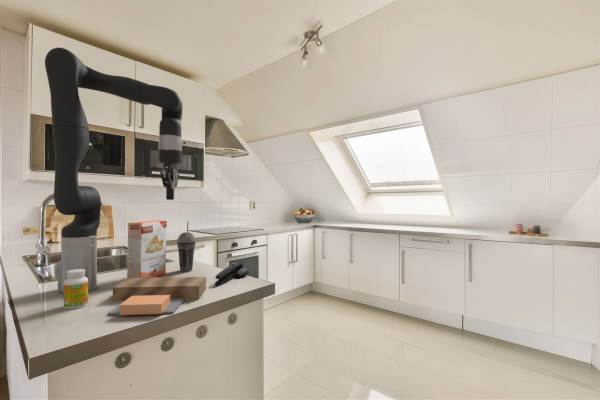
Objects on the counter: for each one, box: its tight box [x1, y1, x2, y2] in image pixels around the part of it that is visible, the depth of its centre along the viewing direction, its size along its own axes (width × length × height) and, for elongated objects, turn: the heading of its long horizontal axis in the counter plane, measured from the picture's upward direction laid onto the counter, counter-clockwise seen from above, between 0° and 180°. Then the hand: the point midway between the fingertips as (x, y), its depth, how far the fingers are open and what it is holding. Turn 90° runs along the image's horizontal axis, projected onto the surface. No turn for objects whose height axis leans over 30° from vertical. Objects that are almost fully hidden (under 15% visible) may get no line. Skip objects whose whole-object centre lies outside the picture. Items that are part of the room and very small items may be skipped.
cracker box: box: [126, 219, 168, 279], centre depth 111 cm, size 14×6×21 cm, turn 168°
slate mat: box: [107, 298, 185, 316], centre depth 82 cm, size 16×10×1 cm, turn 96°
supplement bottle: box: [63, 269, 89, 310], centre depth 83 cm, size 5×5×10 cm
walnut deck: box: [112, 276, 207, 302], centre depth 93 cm, size 24×10×4 cm, turn 96°
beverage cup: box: [176, 220, 196, 273], centre depth 122 cm, size 7×7×20 cm
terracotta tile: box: [118, 295, 170, 316], centre depth 79 cm, size 10×7×2 cm
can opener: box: [214, 260, 250, 286], centre depth 111 cm, size 18×7×6 cm, turn 159°
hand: (170, 199), depth 105 cm, fingers closed
